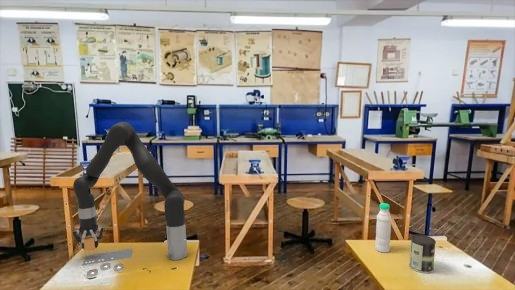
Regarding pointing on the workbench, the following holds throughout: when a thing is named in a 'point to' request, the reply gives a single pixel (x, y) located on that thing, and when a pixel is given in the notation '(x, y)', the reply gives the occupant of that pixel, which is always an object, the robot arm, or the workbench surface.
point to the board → (107, 256)
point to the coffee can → (422, 253)
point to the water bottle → (383, 229)
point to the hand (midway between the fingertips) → (90, 248)
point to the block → (89, 243)
